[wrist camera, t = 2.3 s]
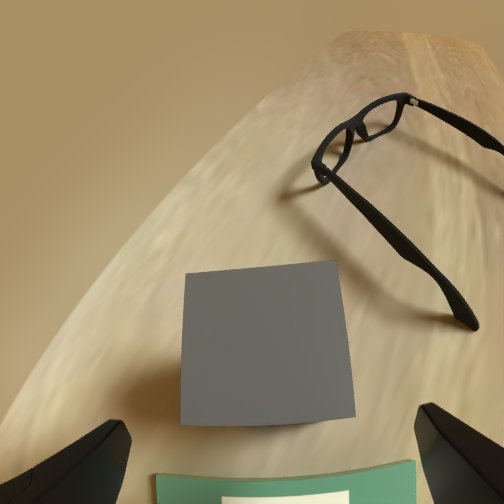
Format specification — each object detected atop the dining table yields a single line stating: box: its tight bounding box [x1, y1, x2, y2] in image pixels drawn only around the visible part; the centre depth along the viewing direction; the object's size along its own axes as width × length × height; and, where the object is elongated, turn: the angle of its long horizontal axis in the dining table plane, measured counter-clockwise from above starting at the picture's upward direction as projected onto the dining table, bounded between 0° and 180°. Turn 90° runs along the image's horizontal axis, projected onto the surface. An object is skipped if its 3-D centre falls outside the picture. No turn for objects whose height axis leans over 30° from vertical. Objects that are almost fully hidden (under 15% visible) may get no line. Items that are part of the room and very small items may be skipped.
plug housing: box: [180, 260, 356, 426], centre depth 14 cm, size 5×5×10 cm
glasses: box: [311, 93, 504, 331], centre depth 22 cm, size 17×18×5 cm
